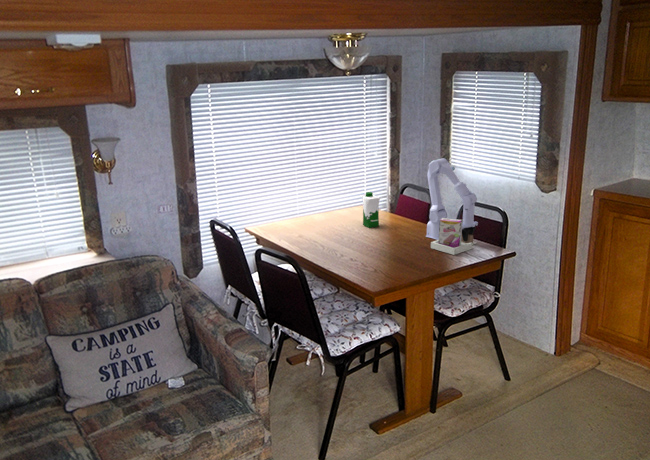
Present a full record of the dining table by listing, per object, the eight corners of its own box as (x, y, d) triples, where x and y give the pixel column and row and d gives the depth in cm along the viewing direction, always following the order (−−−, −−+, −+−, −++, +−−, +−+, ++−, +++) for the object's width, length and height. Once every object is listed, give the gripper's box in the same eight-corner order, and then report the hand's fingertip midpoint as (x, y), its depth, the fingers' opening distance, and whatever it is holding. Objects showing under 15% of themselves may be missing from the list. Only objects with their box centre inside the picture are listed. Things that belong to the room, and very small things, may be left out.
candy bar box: (437, 250, 315) (439, 219, 310) (439, 247, 320) (441, 217, 315) (459, 252, 311) (460, 221, 306) (461, 249, 315) (462, 219, 311)
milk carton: (373, 223, 366) (373, 191, 361) (381, 226, 359) (381, 194, 353) (360, 225, 362) (360, 192, 357) (368, 228, 355) (369, 195, 349)
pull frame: (430, 248, 318) (430, 239, 316) (459, 238, 333) (460, 230, 331) (453, 255, 306) (454, 246, 305) (483, 244, 321) (483, 236, 320)
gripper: (465, 220, 313) (464, 244, 317) (482, 215, 322) (481, 239, 326) (455, 217, 318) (454, 241, 322) (472, 212, 327) (470, 236, 331)
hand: (467, 240), depth 324 cm, fingers open, 3 cm apart
